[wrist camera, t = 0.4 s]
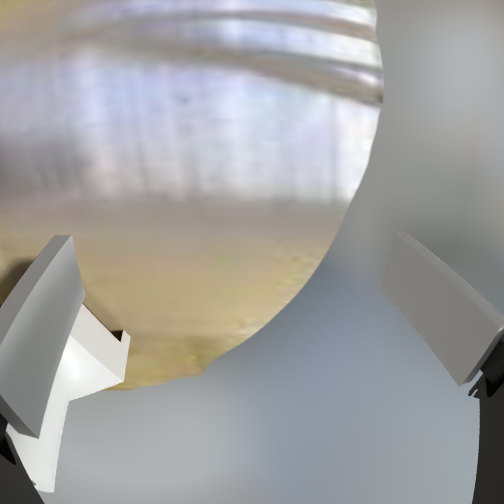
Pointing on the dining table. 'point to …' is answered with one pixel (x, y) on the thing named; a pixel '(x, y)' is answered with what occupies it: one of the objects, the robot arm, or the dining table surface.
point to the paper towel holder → (72, 392)
